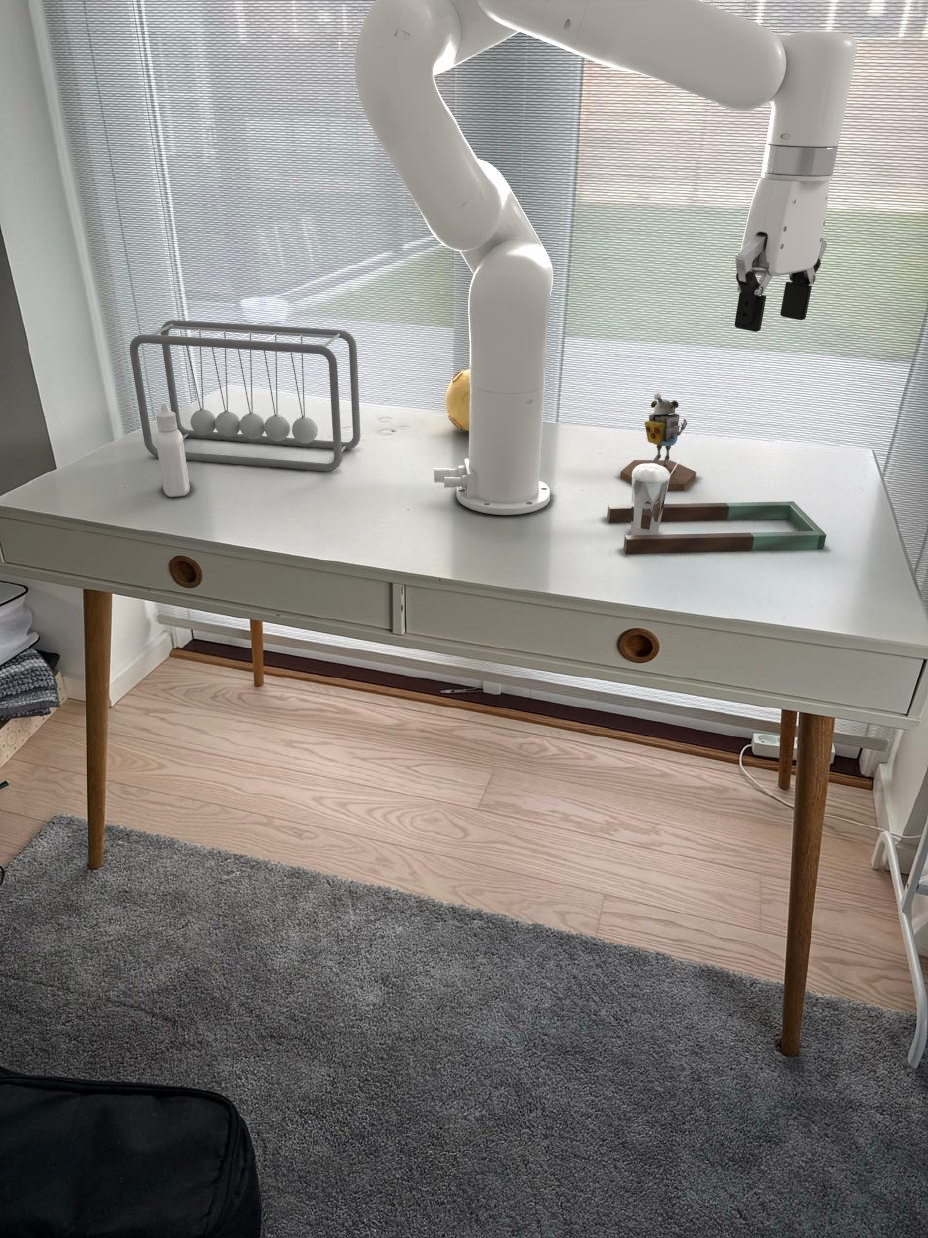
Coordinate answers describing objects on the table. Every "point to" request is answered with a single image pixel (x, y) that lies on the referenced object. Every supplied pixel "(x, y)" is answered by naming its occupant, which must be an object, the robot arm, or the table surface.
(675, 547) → the slide track
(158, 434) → the eye dropper bottle
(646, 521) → the milkshake
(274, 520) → the table surface
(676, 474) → the robot figurine
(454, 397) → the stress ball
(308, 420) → the newton's cradle
